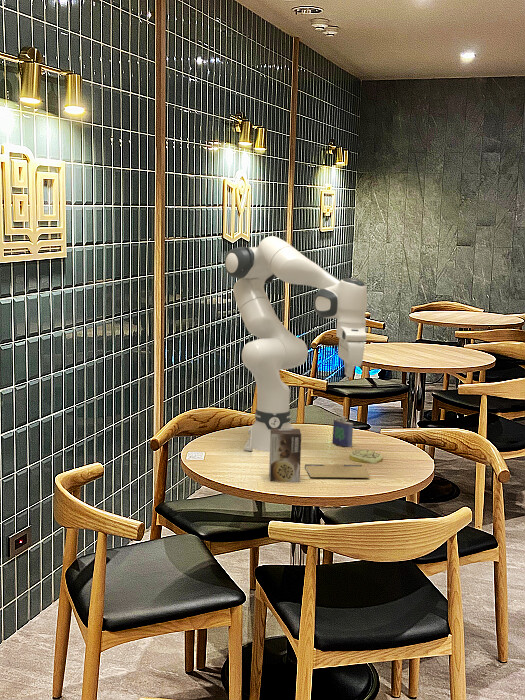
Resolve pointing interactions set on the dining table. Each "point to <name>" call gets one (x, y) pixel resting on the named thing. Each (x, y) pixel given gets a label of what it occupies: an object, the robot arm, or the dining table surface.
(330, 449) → the dining table surface
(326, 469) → the flap
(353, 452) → the decorated donut
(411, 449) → the dining table surface
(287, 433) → the coffee box
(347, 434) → the flask
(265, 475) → the dining table surface
